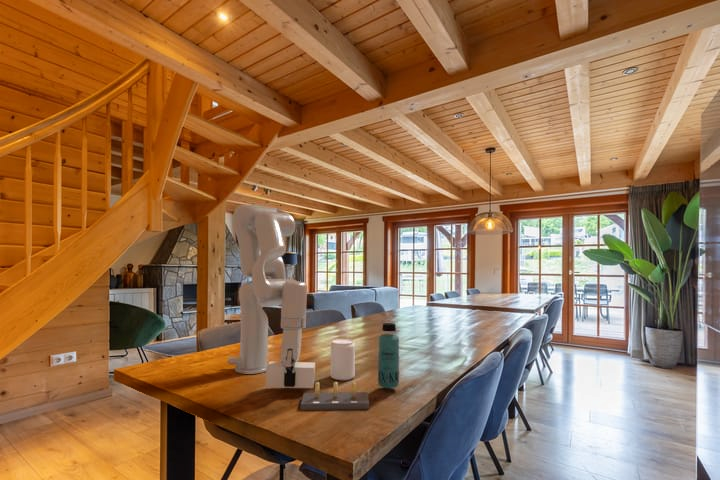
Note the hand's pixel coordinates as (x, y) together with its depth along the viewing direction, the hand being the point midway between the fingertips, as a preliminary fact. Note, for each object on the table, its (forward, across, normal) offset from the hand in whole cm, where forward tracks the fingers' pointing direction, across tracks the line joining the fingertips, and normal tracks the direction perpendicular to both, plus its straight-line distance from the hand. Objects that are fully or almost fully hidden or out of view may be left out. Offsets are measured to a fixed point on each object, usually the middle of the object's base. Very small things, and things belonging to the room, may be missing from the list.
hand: (290, 382), depth 107 cm
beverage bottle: (+2, +1, +30) cm, 30 cm away
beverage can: (+3, -11, +16) cm, 19 cm away
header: (+2, +11, +14) cm, 18 cm away
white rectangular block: (+1, 0, 0) cm, 1 cm away
